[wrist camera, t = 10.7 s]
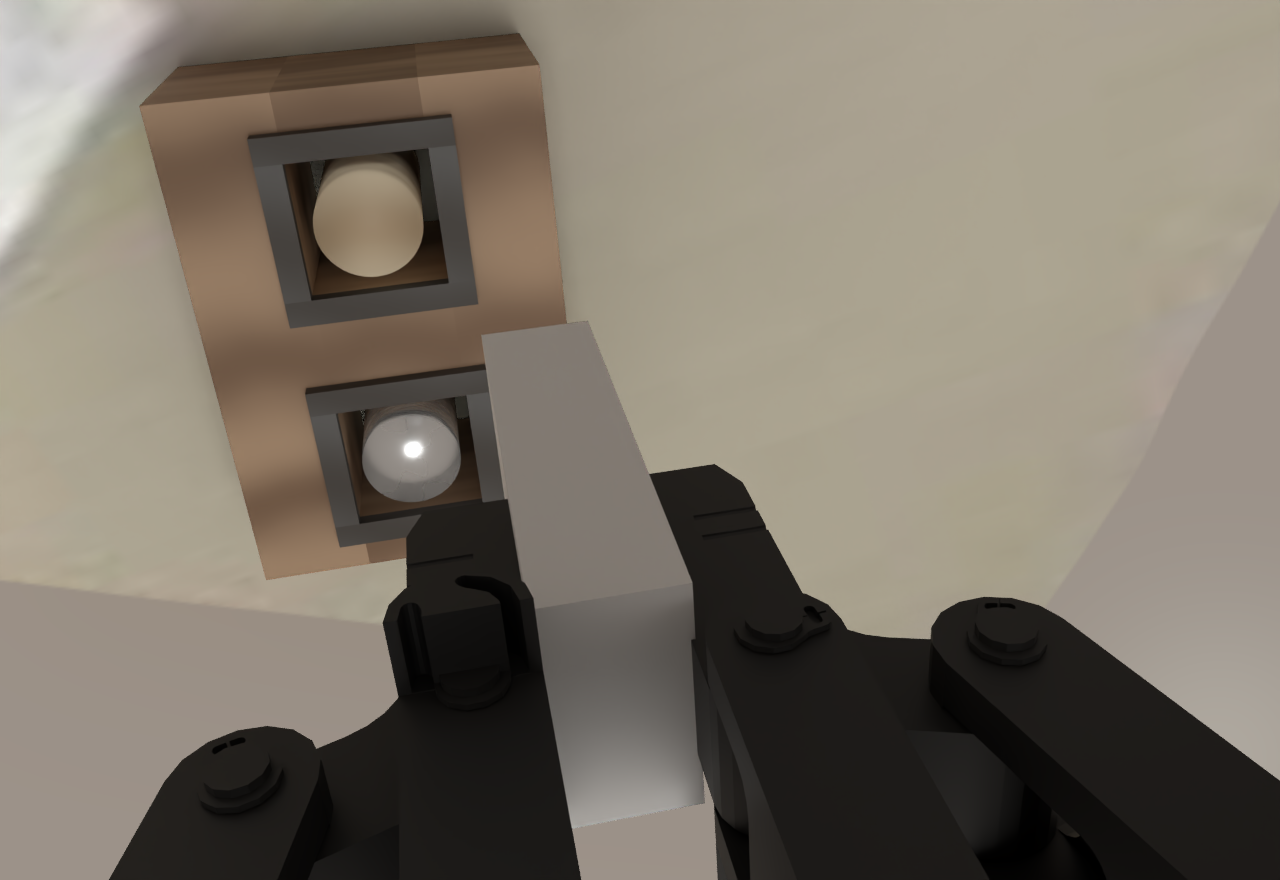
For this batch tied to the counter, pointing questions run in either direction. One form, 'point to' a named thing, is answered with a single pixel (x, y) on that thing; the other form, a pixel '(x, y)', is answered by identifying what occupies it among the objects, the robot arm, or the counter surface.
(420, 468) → the metal peg
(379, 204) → the birch dowel
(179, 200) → the walnut block
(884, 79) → the counter surface
